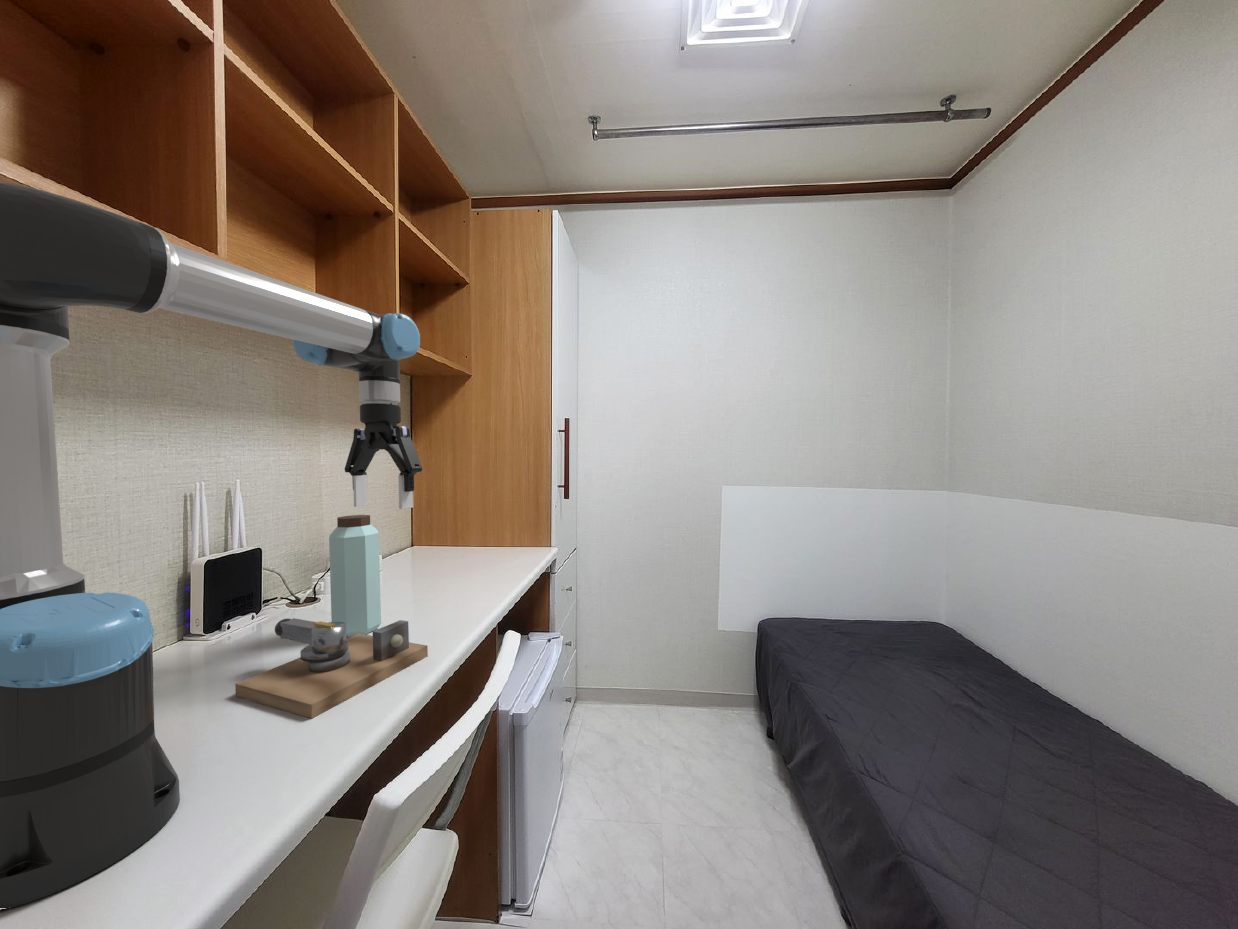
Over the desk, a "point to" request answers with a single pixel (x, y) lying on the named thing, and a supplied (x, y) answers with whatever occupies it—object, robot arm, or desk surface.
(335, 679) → the rotary lever board
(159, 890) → the desk surface
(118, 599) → the robot arm
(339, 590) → the water bottle
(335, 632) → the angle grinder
